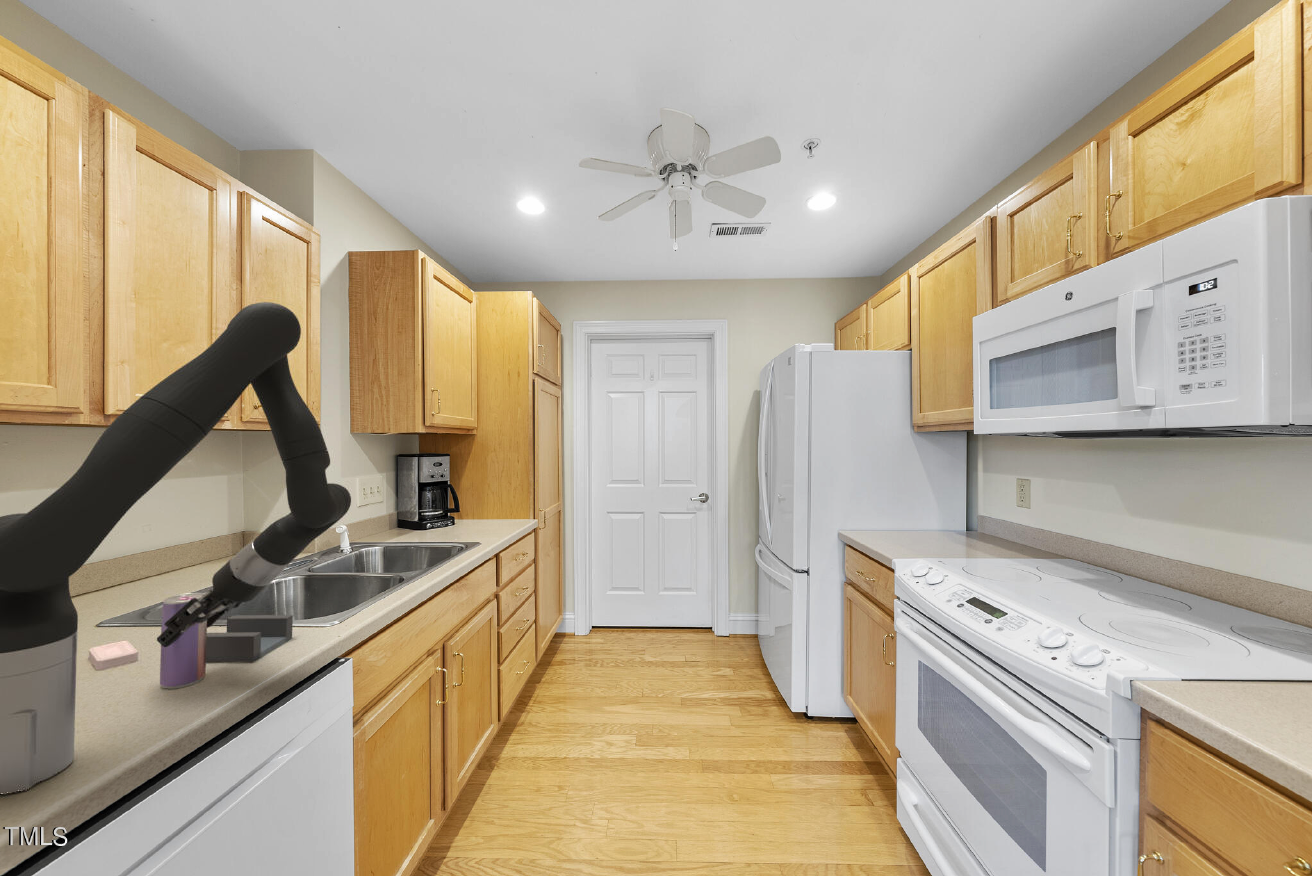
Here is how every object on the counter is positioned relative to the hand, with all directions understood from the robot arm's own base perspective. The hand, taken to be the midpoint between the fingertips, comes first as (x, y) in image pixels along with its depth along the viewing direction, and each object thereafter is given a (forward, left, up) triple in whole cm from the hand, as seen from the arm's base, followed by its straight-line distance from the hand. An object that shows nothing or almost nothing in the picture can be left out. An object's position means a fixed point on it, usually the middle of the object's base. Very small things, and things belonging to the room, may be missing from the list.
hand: (183, 633), depth 91 cm
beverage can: (0, 0, -9) cm, 9 cm away
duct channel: (+13, -5, -9) cm, 16 cm away
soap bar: (+16, +16, -9) cm, 24 cm away
